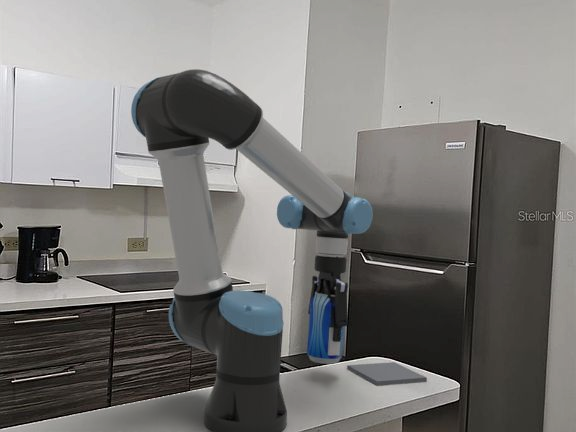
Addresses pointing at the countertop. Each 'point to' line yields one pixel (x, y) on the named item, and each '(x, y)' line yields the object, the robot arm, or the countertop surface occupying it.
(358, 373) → the mat
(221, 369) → the robot arm
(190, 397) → the countertop surface
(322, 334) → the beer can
